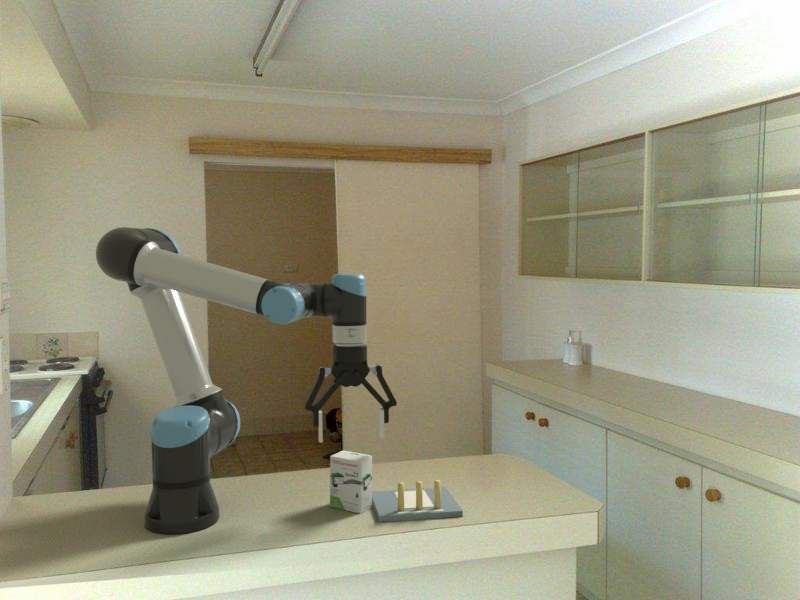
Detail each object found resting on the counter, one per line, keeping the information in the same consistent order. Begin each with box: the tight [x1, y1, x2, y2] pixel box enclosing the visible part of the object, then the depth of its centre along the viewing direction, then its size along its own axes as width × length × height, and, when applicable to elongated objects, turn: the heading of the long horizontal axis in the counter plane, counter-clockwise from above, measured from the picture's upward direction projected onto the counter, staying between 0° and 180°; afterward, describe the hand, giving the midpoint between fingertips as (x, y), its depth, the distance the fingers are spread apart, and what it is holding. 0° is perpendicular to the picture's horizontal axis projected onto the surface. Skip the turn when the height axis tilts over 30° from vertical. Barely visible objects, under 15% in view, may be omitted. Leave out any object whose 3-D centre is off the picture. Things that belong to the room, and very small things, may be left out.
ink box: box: [329, 450, 373, 514], centre depth 159 cm, size 9×5×12 cm, turn 60°
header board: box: [372, 479, 464, 523], centre depth 160 cm, size 18×16×7 cm
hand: (351, 439), depth 159 cm, fingers open, 13 cm apart
